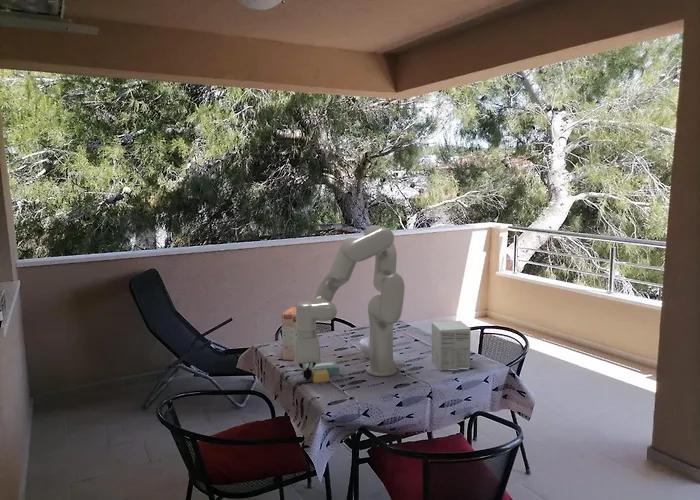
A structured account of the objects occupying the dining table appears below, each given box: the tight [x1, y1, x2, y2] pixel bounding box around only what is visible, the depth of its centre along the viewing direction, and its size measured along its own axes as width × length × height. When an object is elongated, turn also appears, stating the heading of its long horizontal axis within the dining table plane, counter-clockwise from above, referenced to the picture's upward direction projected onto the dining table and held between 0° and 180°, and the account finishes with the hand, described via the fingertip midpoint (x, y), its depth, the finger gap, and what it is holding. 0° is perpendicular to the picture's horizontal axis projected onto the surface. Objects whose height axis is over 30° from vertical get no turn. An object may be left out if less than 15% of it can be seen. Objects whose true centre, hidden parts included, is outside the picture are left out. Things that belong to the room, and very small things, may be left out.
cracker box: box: [281, 306, 297, 361], centre depth 241 cm, size 14×6×21 cm, turn 168°
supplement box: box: [431, 320, 472, 371], centre depth 226 cm, size 13×13×18 cm
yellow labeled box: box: [311, 370, 330, 384], centre depth 213 cm, size 6×5×3 cm
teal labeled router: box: [301, 360, 340, 379], centre depth 220 cm, size 14×8×3 cm, turn 104°
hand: (307, 378), depth 212 cm, fingers closed
